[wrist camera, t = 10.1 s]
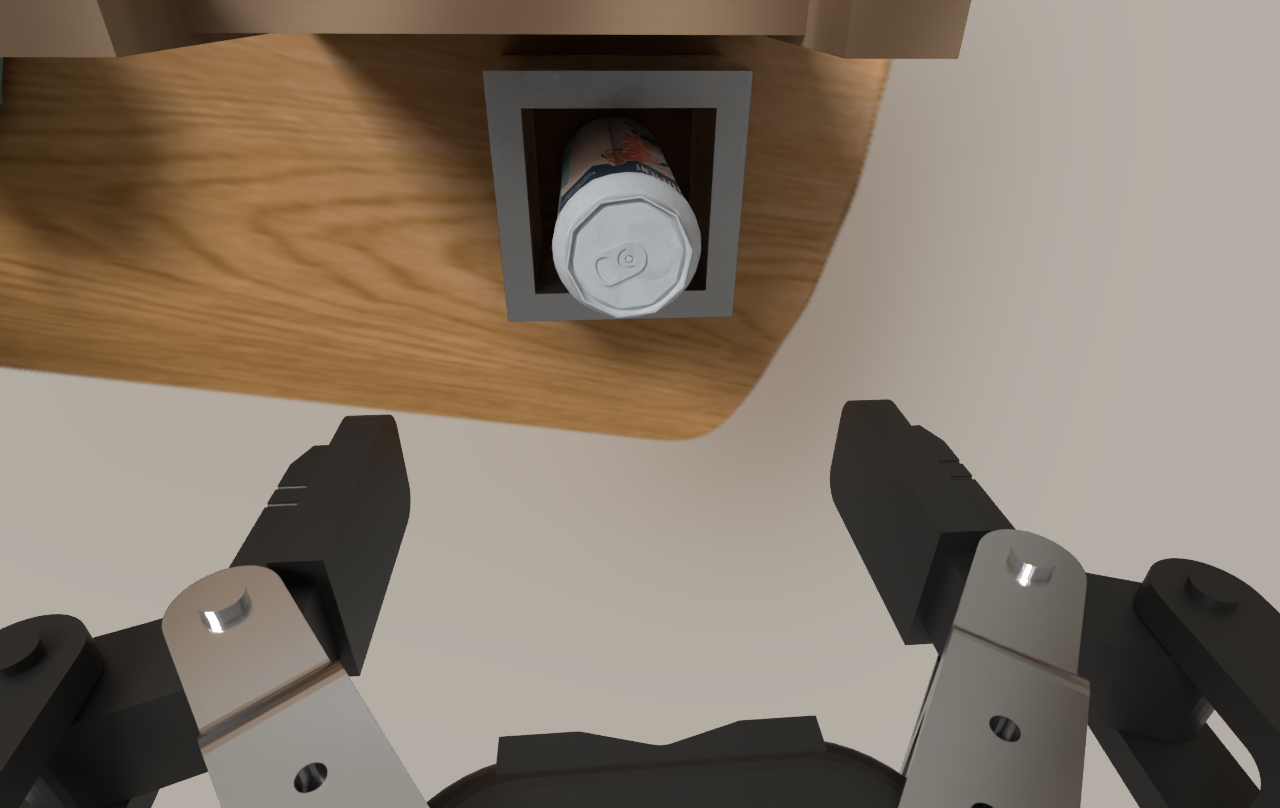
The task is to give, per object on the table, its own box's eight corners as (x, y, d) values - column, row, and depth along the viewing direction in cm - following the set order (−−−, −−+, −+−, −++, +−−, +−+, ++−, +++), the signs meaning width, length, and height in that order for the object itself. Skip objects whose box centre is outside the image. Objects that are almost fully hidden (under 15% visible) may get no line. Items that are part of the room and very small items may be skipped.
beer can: (681, 194, 32) (728, 292, 22) (590, 238, 33) (595, 352, 23) (638, 94, 30) (668, 150, 19) (541, 144, 30) (522, 224, 20)
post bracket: (519, 270, 33) (508, 321, 28) (500, 55, 29) (482, 70, 23) (709, 266, 34) (732, 316, 29) (723, 55, 29) (753, 70, 24)
